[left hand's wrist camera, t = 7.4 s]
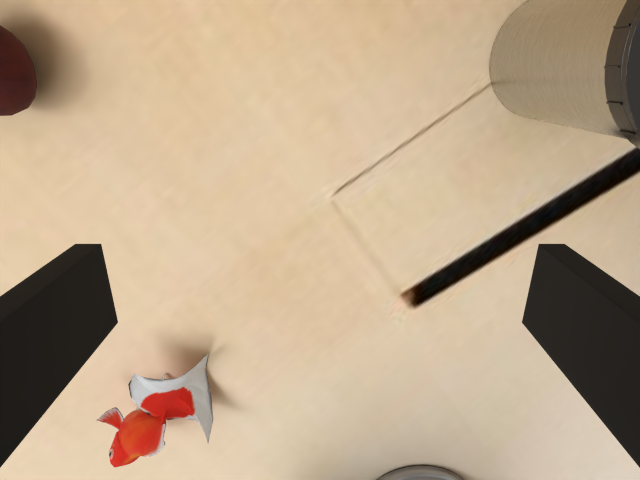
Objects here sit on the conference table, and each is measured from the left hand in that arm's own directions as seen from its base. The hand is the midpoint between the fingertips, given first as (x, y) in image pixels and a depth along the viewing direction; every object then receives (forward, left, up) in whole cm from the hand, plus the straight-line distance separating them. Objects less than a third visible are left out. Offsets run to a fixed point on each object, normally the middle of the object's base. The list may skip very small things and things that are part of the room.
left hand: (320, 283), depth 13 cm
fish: (-28, +18, -28) cm, 44 cm away
